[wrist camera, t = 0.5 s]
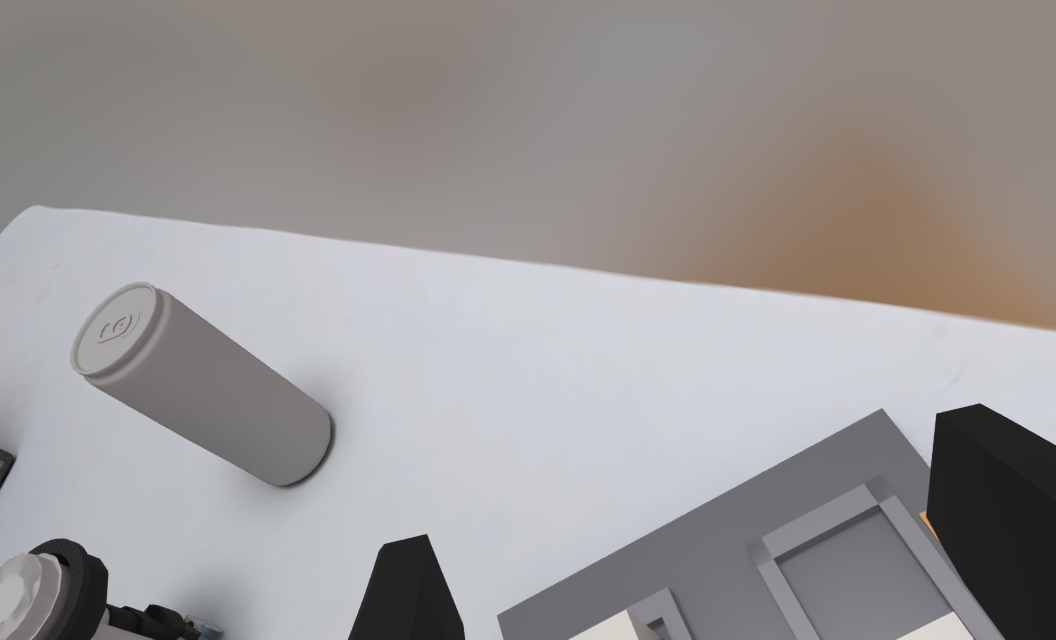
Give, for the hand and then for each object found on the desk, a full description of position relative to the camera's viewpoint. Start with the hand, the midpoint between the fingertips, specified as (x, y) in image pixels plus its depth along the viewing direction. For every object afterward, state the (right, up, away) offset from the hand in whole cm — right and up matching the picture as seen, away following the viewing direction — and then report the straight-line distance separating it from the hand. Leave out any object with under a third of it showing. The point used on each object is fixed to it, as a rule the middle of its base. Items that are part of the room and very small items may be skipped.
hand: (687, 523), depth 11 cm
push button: (-18, -13, +26) cm, 34 cm away
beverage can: (-14, -4, +30) cm, 34 cm away
